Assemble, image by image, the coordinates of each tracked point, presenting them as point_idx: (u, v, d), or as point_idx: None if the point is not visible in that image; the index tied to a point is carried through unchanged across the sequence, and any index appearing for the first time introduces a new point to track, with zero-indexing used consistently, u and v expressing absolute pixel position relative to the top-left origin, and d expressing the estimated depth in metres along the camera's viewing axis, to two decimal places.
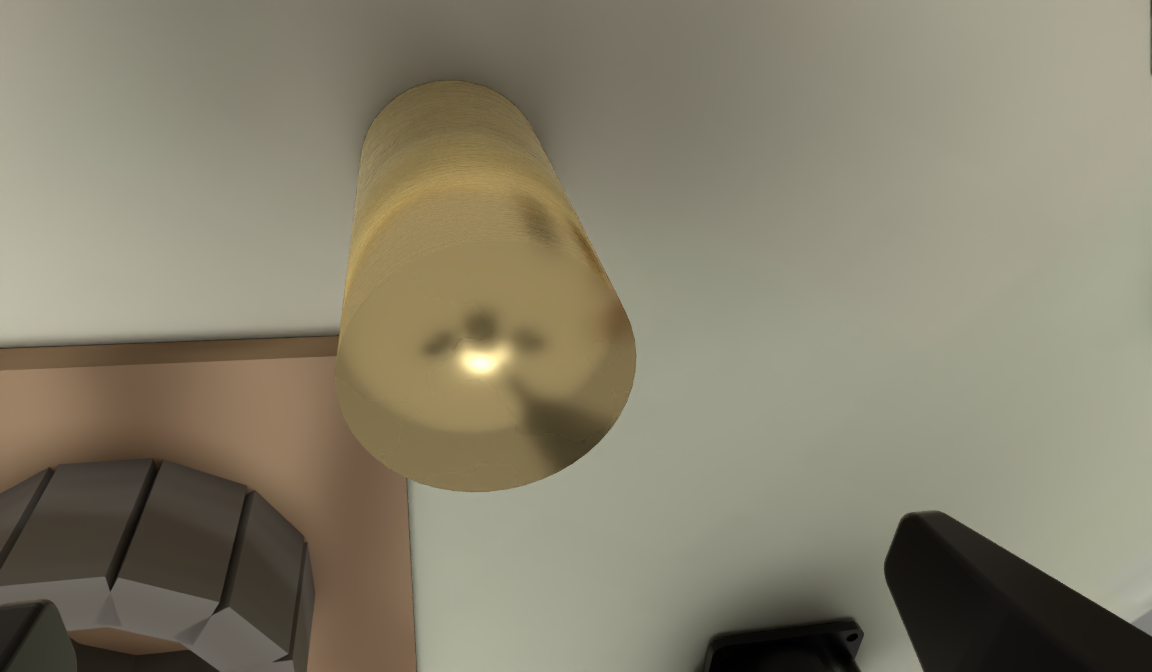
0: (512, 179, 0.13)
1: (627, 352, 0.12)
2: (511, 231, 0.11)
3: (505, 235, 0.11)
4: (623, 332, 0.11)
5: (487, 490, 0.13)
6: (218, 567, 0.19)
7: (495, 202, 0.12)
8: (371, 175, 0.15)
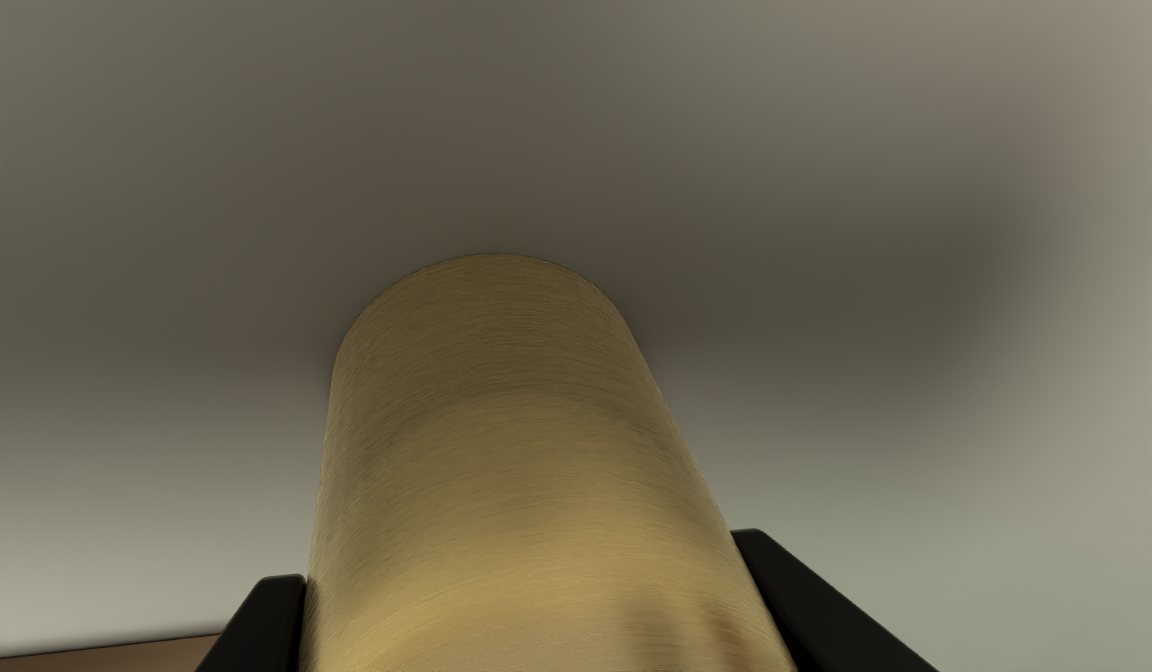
0: None
1: None
2: None
3: None
4: None
5: None
6: None
7: None
8: (338, 539, 0.07)
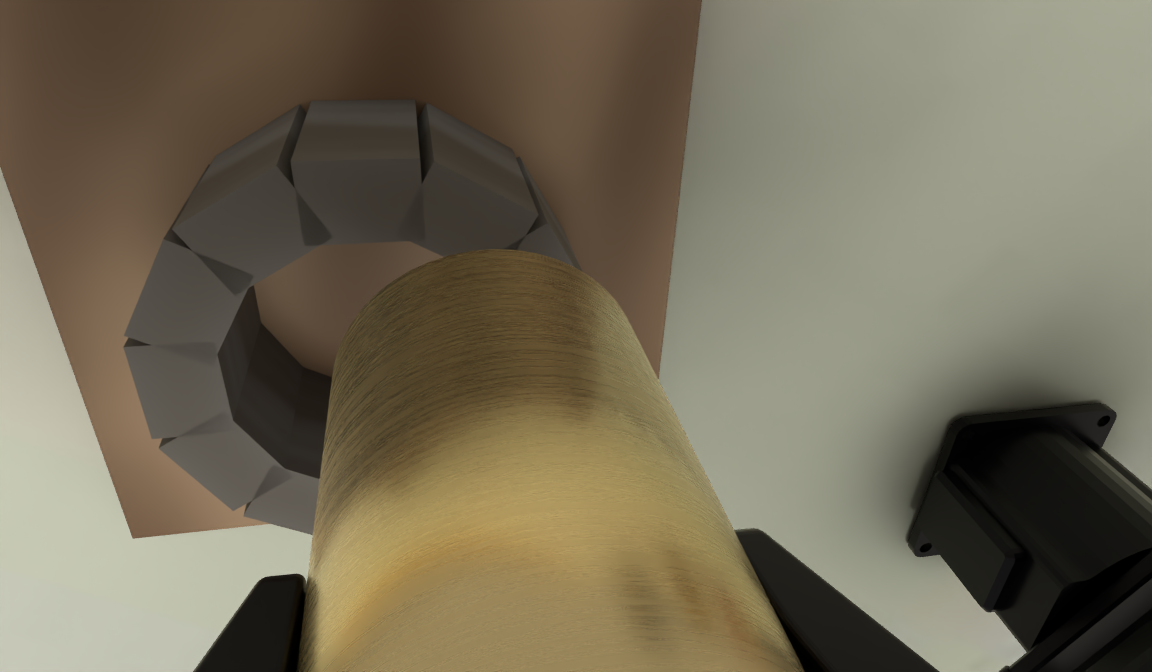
0: None
1: None
2: None
3: None
4: None
5: None
6: (522, 191, 0.16)
7: None
8: (340, 534, 0.07)
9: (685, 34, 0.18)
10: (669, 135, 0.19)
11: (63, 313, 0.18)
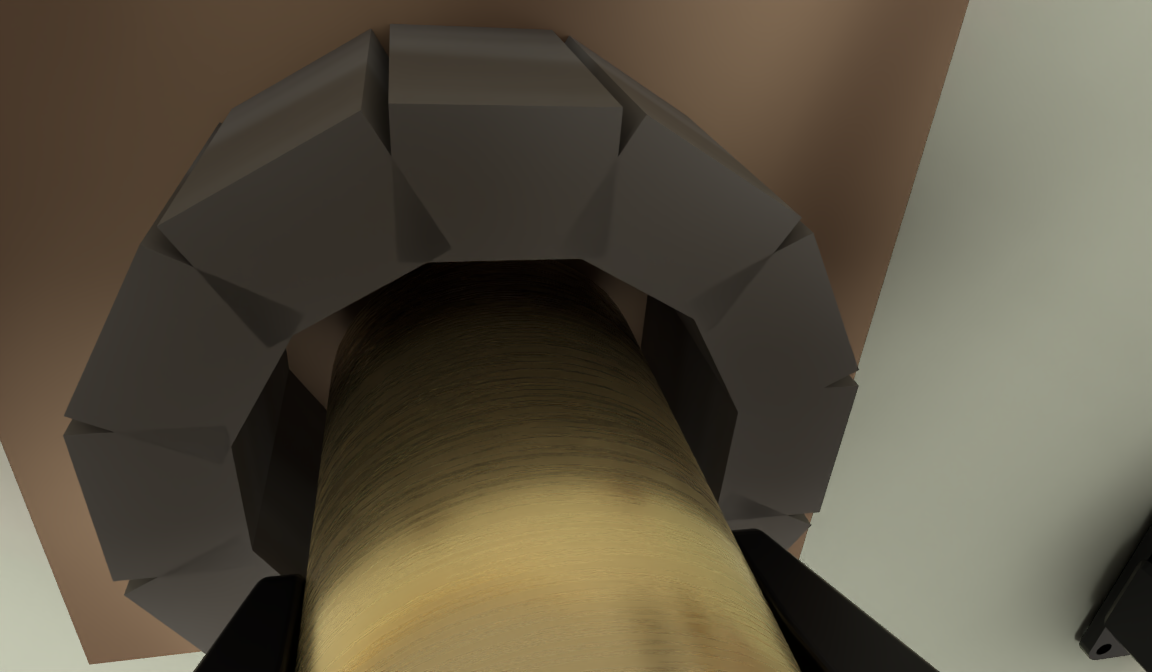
0: None
1: None
2: None
3: None
4: None
5: None
6: (754, 177, 0.09)
7: None
8: (338, 536, 0.07)
9: None
10: (914, 104, 0.12)
11: None
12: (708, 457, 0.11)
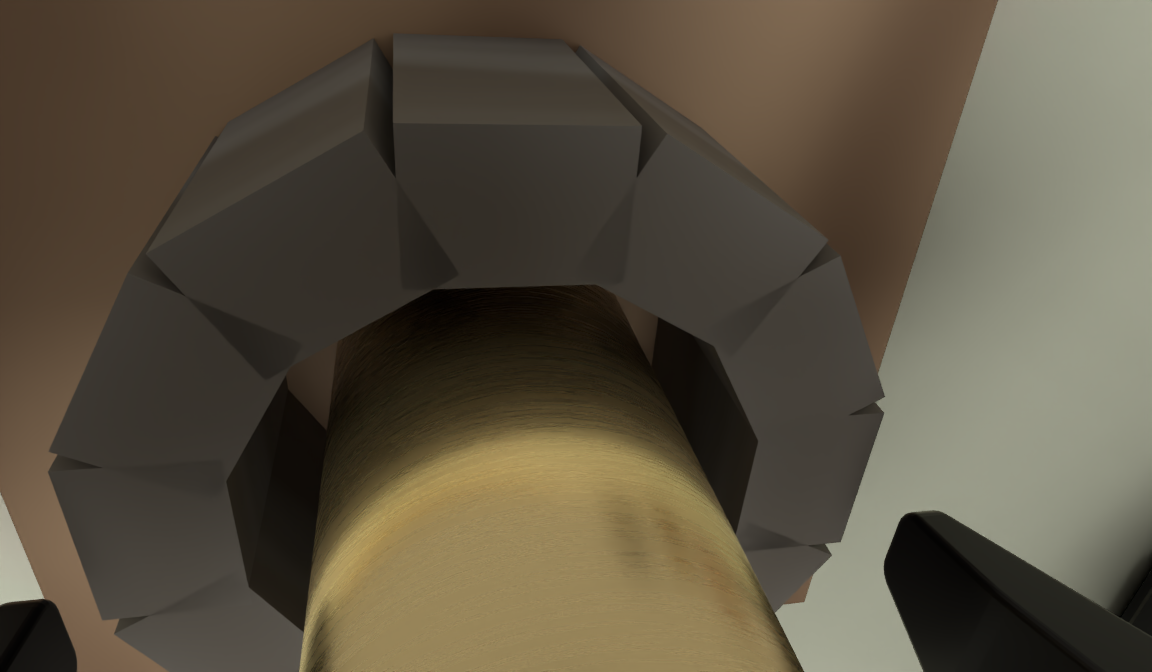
0: (632, 519, 0.06)
1: None
2: None
3: None
4: None
5: None
6: (776, 195, 0.09)
7: (618, 646, 0.05)
8: (350, 429, 0.08)
9: None
10: (936, 115, 0.12)
11: None
12: (724, 485, 0.10)
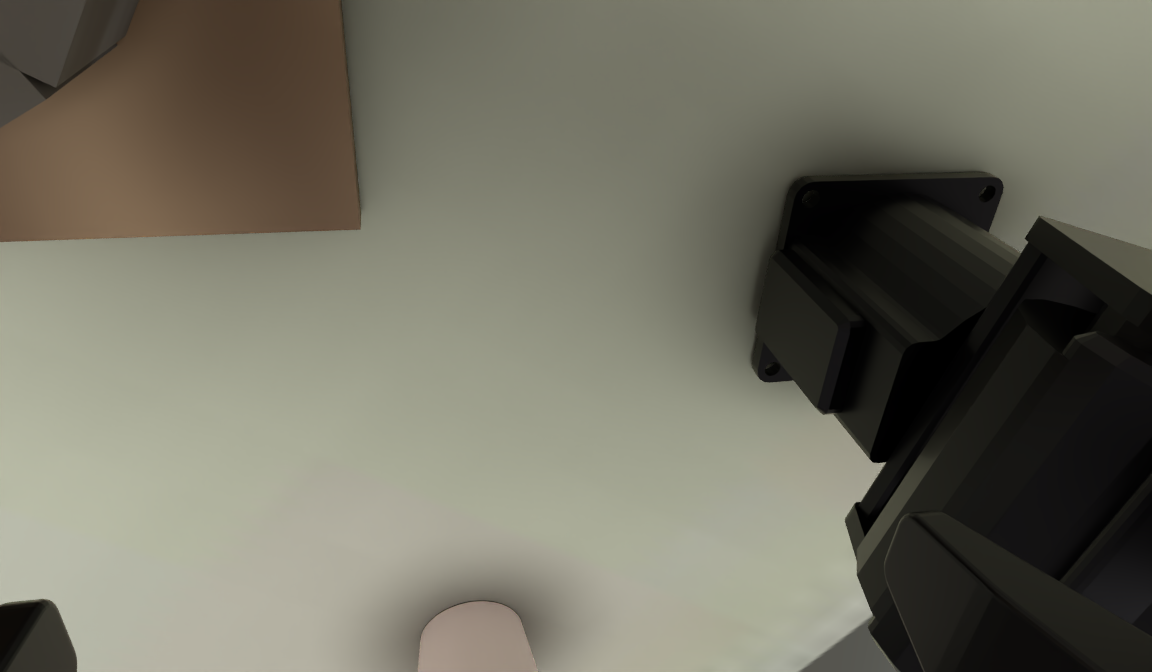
0: None
1: None
2: None
3: None
4: None
5: None
6: None
7: None
8: None
9: None
10: None
11: None
12: None
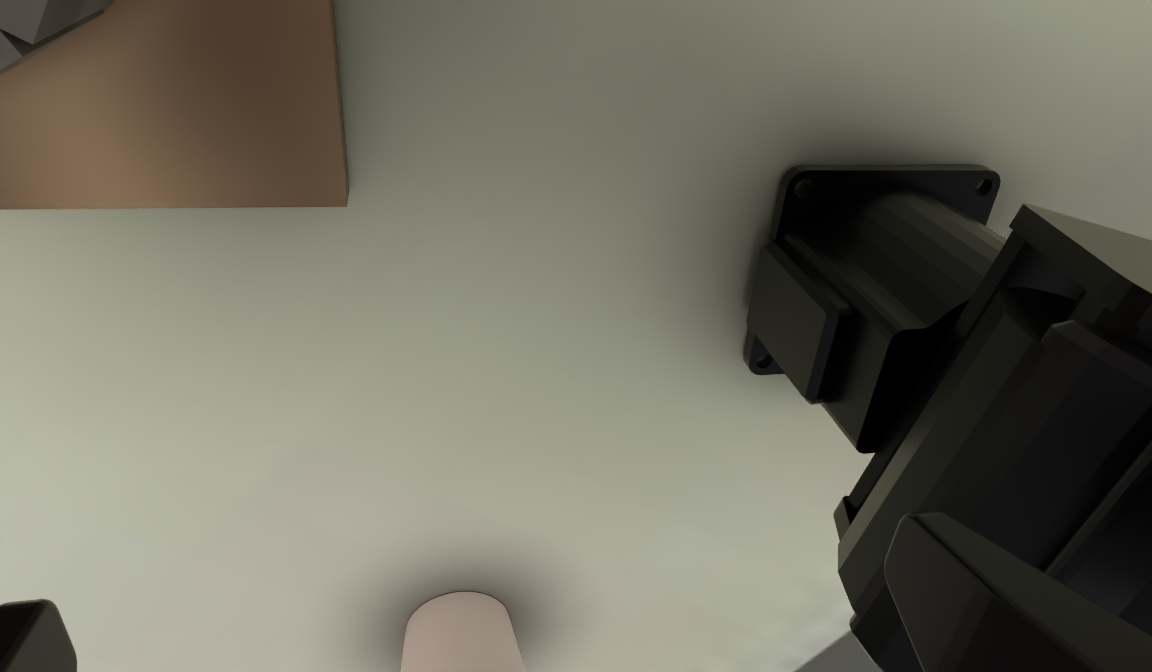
0: None
1: None
2: None
3: None
4: None
5: None
6: None
7: None
8: None
9: None
10: None
11: None
12: None
